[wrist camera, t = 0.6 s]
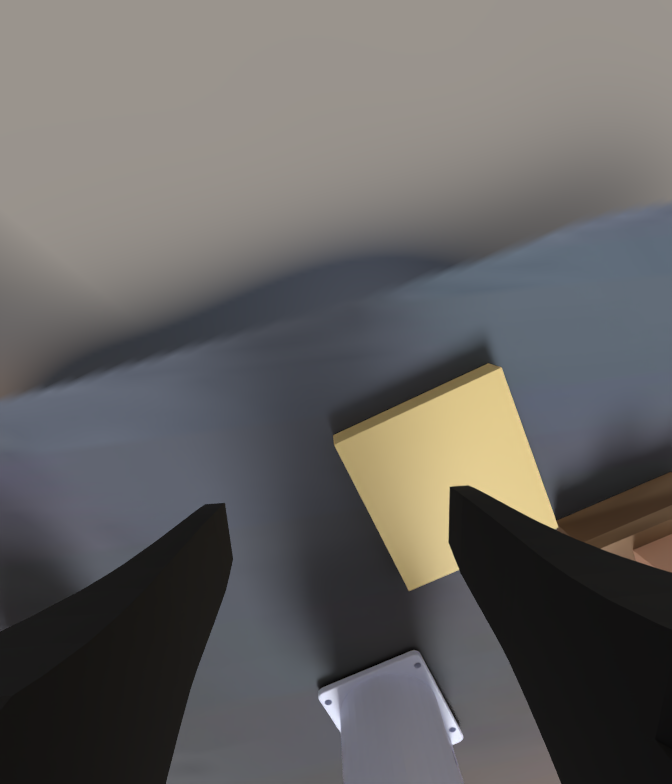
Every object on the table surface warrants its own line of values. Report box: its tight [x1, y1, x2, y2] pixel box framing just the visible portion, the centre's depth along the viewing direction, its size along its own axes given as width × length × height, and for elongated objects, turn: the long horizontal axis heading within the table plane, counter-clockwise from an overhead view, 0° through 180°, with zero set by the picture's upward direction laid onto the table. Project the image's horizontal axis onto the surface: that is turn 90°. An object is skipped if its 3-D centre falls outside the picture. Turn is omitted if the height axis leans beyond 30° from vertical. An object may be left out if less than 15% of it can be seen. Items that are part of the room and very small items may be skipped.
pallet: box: [556, 472, 672, 561], centre depth 22 cm, size 5×8×3 cm, turn 115°
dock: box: [333, 363, 558, 591], centre depth 21 cm, size 11×10×2 cm
